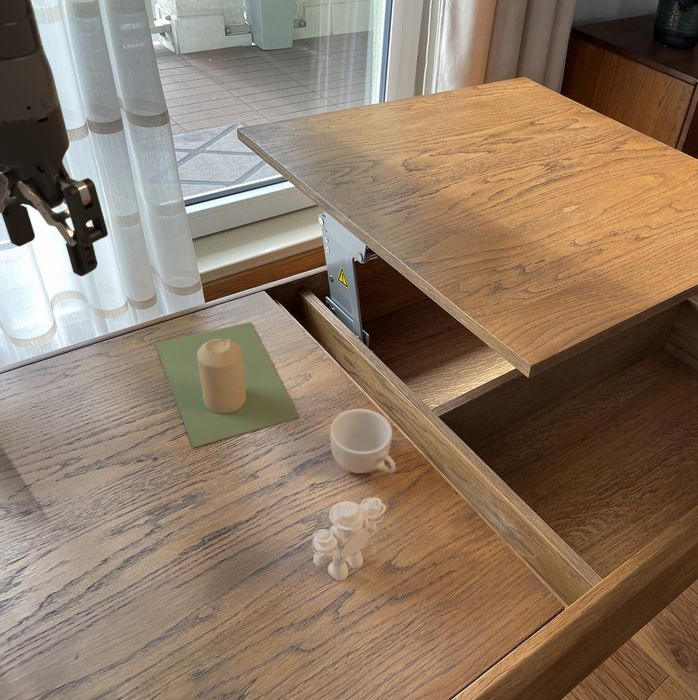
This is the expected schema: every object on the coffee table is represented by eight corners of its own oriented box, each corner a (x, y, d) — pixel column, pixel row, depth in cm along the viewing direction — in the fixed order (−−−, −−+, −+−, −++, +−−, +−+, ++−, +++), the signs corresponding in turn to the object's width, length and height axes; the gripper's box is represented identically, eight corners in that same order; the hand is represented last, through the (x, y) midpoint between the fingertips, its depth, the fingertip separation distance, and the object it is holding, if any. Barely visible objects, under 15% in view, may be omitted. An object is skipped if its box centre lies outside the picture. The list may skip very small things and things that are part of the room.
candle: (235, 380, 101) (229, 325, 94) (253, 404, 98) (248, 349, 91) (197, 395, 98) (188, 339, 91) (214, 419, 95) (207, 363, 88)
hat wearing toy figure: (324, 602, 77) (324, 537, 70) (303, 577, 79) (301, 511, 72) (388, 555, 83) (395, 490, 75) (367, 533, 85) (371, 467, 77)
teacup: (317, 457, 92) (317, 428, 89) (361, 427, 97) (362, 399, 94) (370, 502, 88) (372, 474, 85) (413, 469, 93) (417, 442, 89)
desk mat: (193, 448, 91) (193, 447, 91) (155, 344, 105) (155, 343, 105) (299, 417, 97) (299, 416, 97) (250, 323, 111) (250, 322, 111)
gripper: (-91, 87, 61) (-30, 248, 71) (30, 138, 57) (75, 300, 67) (-9, 65, 66) (36, 218, 77) (106, 110, 62) (137, 264, 73)
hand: (54, 256), depth 72 cm, fingers open, 8 cm apart
